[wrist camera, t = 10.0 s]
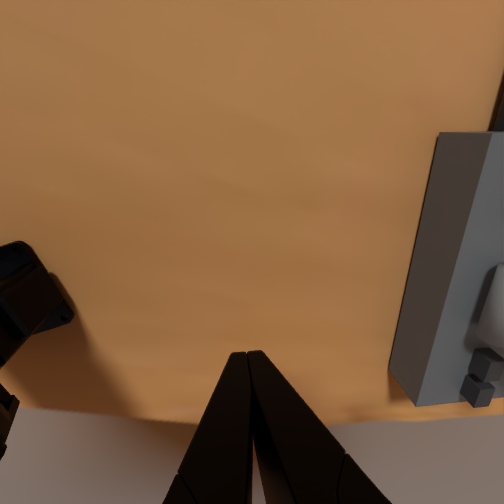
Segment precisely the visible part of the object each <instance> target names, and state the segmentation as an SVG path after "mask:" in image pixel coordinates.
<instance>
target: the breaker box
mask: <svg viewBox="0 0 504 504" xmlns="http://www.w3.org/2000/svg"><path fill="white" fill-rule="evenodd" d="M502 262H504V92H503V96H502V99H501V103H500V106H499V110H498V114H497V117H496V121H495V124H494V128H493V131H485V132H440V133H439V138H438V142H437V147H436V151H435V156H434V161H433V165H432V170H431V175H430V179H429V184H428V189H427V193H426V198H425V203H424V207H423V212H422V216H421V221H420V226H419V230H418V235H417V240H416V244H415V249H414V254H413V258H412V263H411V268H410V272H409V277H408V281H407V286H406V291H405V295H404V300H403V305H402V309H401V314H400V319H399V323H398V328H397V333H396V337H395V342H394V346H393V351H392V356H391V360H390V365H389V370H390V372H391V373H392V374H393V376H394V377H395V379H396V380H397V381H398V383H399V384H400V386H401V387H402V388H403V390H404V391H405V393H406V394H407V395H408V397H409V398H410V400H411V401H412V402H413V404H414V405H415V407H420V406H429V405H438V404H447V403H456V402H465V401H468V402H469V403H470V404H471V405H472V407H473V408H477V407H486V406H489V404H490V402H491V399H492V398H501V397H504V348H501V347H496V346H493V345H490V344H488V343H486V342H484V341H482V340H481V339H480V338H478V337H477V335H476V333H475V331H476V328H477V325H478V322H479V319H480V316H481V313H482V310H483V307H484V305H485V302H486V299H487V296H488V293H489V290H490V287H491V284H492V281H493V278H494V275H495V272H496V269H497V267H498V264H499V263H502Z"/></svg>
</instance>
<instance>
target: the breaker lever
mask: <svg viewBox="0 0 504 504" xmlns="http://www.w3.org/2000/svg"><path fill="white" fill-rule="evenodd" d="M475 333H476V335H477V337H478V338H480V339H481V340H482V341H484V342H486V343H488V344H490V345H493V346H496V347H501V348H504V262H502V263H499V264H498V267H497V269H496V272H495V275H494V278H493V281H492V284H491V287H490V290H489V293H488V296H487V299H486V302H485V305H484V307H483V310H482V313H481V316H480V319H479V322H478V325H477V328H476V331H475Z"/></svg>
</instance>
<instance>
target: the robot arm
mask: <svg viewBox="0 0 504 504" xmlns="http://www.w3.org/2000/svg"><path fill="white" fill-rule="evenodd" d="M16 247H19V248H20V249H21V251H18V250H17V248H16ZM63 315H66V316H67V317H68V318H66V317H64V316H63ZM73 318H74V313H73V312H72V310H71V309H70V307H69V306H68V304H67V303H66V301H65V300H64V298H63V296H62V294H61V293H60V291H59V290H58V288H57V287H56V285H55V284H54V283H53V281H52V280H51V278H50V277H49V275H48V274H47V272H46V271H45V269H44V268H43V267H42V266H41V264H40V263H39V261H38V260H37V258H36V257H35V255H34V254H33V252H32V251H31V249H30V248H29V246H28V245H27V244H26V243H25V242H23V241H15V242H12V243H9V244H6V245H3V246H0V369H1V368H2V367H3V366H4V364H5V363H6V362H7V361H8V360H9V359H10V358H11V357H12V356H13V355H14V353H15V352H16V351H17V350H18V349H19V348H20V347H21V346H22V345H23V343H24V342H25V341H26V340H27V339H28V338H29V337H30V336H31V335H33V334H37V333H40V332H43V331H46V330H49V329H52V328H55V327H58V326H61V325H64V324H68V323H69V322H71V320H72V319H73ZM19 403H20V401H19V400H18V399H17V398H16V397H15V395H10V393H9V392H8V391H7V390H6V389H5V388H4V387H3V386H2V385H1V384H0V460H1V458H2V457H3V456H4V453H5V451H6V448H7V445H6V444H5V442H6V439H7V437H8V434H9V431H10V428H11V425H12V423H13V420H14V417H15V414H16V412H17V409H18V406H19ZM253 441H254V446H255V452H256V457H257V462H258V466H259V471H260V476H261V481H262V486H263V490H264V495H265V500H266V504H392V503H391V502H390V501H389V500H388V499H387V498H386V497H385V496H384V495H383V494H382V493H381V491H380V490H379V489H378V488H377V487H376V486H375V484H374V483H373V482H372V481H371V480H370V479H369V478H368V477H367V476H366V474H365V473H364V472H363V471H362V470H361V469H360V467H359V466H358V465H357V464H356V462H355V461H354V460H353V459H352V458H351V456H350V455H349V454H345V453H346V452H345V449H344V448H343V447H342V446H341V445H340V443H339V442H338V441H337V440H336V439H335V437H334V436H333V435H332V434H331V433H330V431H329V430H328V429H327V428H326V427H325V425H324V424H323V423H322V422H321V421H320V419H319V418H318V417H317V416H316V415H315V413H314V412H313V411H312V410H311V409H310V407H309V406H308V405H307V404H306V403H305V401H304V400H303V399H302V398H301V397H300V395H299V394H298V393H297V392H296V391H295V389H294V388H293V387H292V386H291V385H290V383H289V382H288V381H287V380H286V379H285V377H284V376H283V375H282V374H281V372H280V371H279V370H278V369H277V368H276V366H275V365H274V364H273V363H272V362H271V360H270V359H269V358H268V357H267V356H266V354H265V353H264V352H263V351H261V350H255V351H248V352H247V353H246V352H233V353H231V354H230V356H229V359H228V361H227V363H226V365H225V367H224V370H223V372H222V374H221V376H220V378H219V381H218V383H217V385H216V387H215V389H214V392H213V394H212V396H211V398H210V401H209V403H208V405H207V407H206V409H205V412H204V414H203V416H202V418H201V420H200V423H199V425H198V427H197V429H196V431H195V434H194V436H193V438H192V440H191V443H190V445H189V447H188V449H187V452H186V454H185V456H184V458H183V460H182V463H181V465H180V467H179V469H178V474H177V475H176V476H175V477H174V480H173V482H172V484H171V486H170V488H169V491H168V493H167V495H166V497H165V499H164V501H163V503H162V504H252V473H253Z"/></svg>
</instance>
